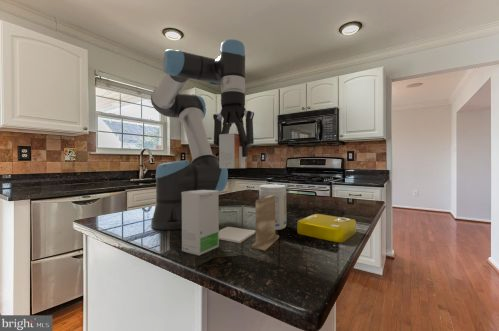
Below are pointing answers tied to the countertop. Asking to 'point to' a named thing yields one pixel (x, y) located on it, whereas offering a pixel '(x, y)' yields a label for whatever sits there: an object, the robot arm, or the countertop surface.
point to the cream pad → (235, 234)
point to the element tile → (327, 227)
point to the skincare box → (200, 221)
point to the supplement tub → (276, 202)
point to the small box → (229, 151)
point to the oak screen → (265, 223)
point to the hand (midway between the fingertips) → (233, 167)
